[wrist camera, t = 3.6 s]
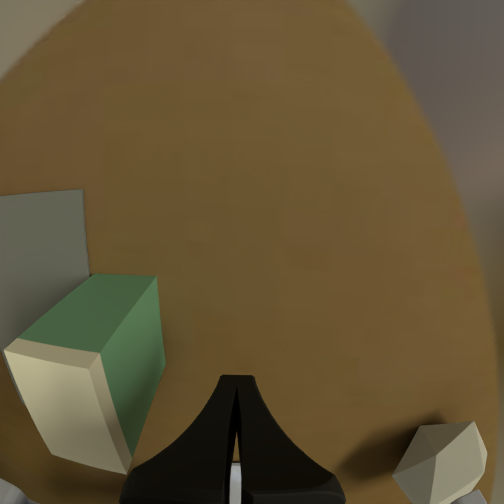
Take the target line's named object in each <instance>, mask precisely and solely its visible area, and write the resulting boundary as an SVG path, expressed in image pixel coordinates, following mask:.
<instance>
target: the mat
mask: <svg viewBox="0 0 504 504" xmlns="http://www.w3.org/2000/svg"><path fill="white" fill-rule="evenodd" d="M89 277H90V269H89V261H88V251H87V241H86V229H85V215H84V194H83V189H76V190H62V191H49V192H37V193H27V194H17V195H7V196H0V349H1V352H2V355H3V358H4V360H5V363H6V366H7V368H8V371H9V373H10V376H11V378H12V381H13V383H14V386H15V388H16V390H17V393H18V395H19V397H20V399H21V401H22V404H25V402H24V400H23V398H22V396H21V393H20V391H19V389H18V386H17V384H16V381H15V379H14V377H13V374H12V371H11V369H10V366H9V364H8V361H7V358H6V355H5V353H4V349H5V348H7V347H8V346H9V345H10V344H11V343H12V342H13V341H14V340H15V339H16V338H18V337H19V336H20V335H21V334H22V333H23V332H24V331H25V330H27V329H28V328H29V327H30V326H31V325H32V324H34V323H35V322H36V321H37V320H38V319H39V318H40V317H42V316H43V315H44V314H45V313H46V312H48V311H49V310H50V309H51V308H52V307H54V306H55V305H56V304H57V303H58V302H60V301H61V300H62V299H63V298H64V297H66V296H67V295H68V294H69V293H71V292H72V291H73V290H74V289H76V288H77V287H78V286H79V285H81V284H82V283H83V282H84V281H86V280H87V279H88V278H89ZM25 405H26V404H25Z"/></svg>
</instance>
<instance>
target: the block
mask: <svg viewBox="0 0 504 504" xmlns="http://www.w3.org/2000/svg"><path fill="white" fill-rule="evenodd" d="M4 353H5V355H6V358H7V361H8V364H9V366H10V369H11V371H12V374H13V377H14V379H15V381H16V384H17V386H18V389H19V391H20V393H21V396H22V398H23V400H24V402H25V404H26V406H27V409H28V411H29V413H30V415H31V417H32V419H33V421H34V423H35V425H36V427H37V429H38V431H39V432H40V434H41V436H42V438H43V440H44V442H45V443H46V445H47V447H48V449H49V450H50V452H51V454H53V455H56V456H59V457H62V458H65V459H68V460H71V461H74V462H78V463H81V464H85V465H88V466H92V467H96V468H100V469H104V470H108V471H112V472H117V473H121V474H126V475H127V473H128V470H129V467H130V464H131V461H132V458H133V455H134V452H135V449H136V446H137V443H138V440H139V437H140V434H141V431H142V429H143V426H144V423H145V420H146V417H147V414H148V411H149V409H150V406H151V403H152V400H153V397H154V395H155V392H156V389H157V386H158V384H159V381H160V378H161V376H162V373H163V370H164V367H165V365H166V363H165V355H164V347H163V339H162V330H161V321H160V311H159V300H158V288H157V276H139V275H116V274H96V273H95V274H93V275H92V276H91V277H89V278H88V279H87V280H86V281H84V282H83V283H82V284H81V285H79V286H78V287H77V288H76V289H74V290H73V291H72V292H71V293H69V294H68V295H67V296H66V297H64V298H63V299H62V300H61V301H60V302H58V303H57V304H56V305H55V306H54V307H52V308H51V309H50V310H49V311H48V312H46V313H45V314H44V315H43V316H42V317H40V318H39V319H38V320H37V321H36V322H35V323H34V324H32V325H31V326H30V327H29V328H28V329H27V330H25V331H24V332H23V333H22V334H21V335H20V336H19V337H18V338H16V339H15V340H14V341H13V342H12V343H11V344H10V345H9V346H8V347H7V348H5V349H4Z"/></svg>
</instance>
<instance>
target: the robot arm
mask: <svg viewBox="0 0 504 504" xmlns="http://www.w3.org/2000/svg"><path fill="white" fill-rule="evenodd" d="M236 432H237V437H238V448H239V458H240V463H232V460H233V453H234V446H235V439H236ZM345 502H346V499H345V495H344V492H343V490H342V488H341V486H340V483H339V482H338V480H337V478H336V476H335V475H334V474H332V473H331V472H329V471H327V470H326V469H324V468H323V467H321V466H320V465H318V464H317V463H316V462H315V461H313V460H312V459H311V458H309V457H308V456H307V455H306V454H305V453H304V452H303V451H302V450H301V449H299V448H298V447H297V446H296V445H295V444H294V443H293V442H292V441H291V440H290V438H289V437H288V436H287V435H286V434H285V433H284V431H283V430H282V429H281V428H280V426H279V425H278V424H277V422H276V421H275V419H274V418H273V416H272V415H271V413H270V411H269V410H268V408H267V406H266V404H265V403H264V401H263V399H262V397H261V395H260V392H259V390H258V387H257V385H256V381H255V377H253V376H252V375H222V376H220V379H219V382H218V384H217V386H216V388H215V390H214V392H213V394H212V396H211V397H210V399H209V400H208V402H207V404H206V405H205V407H204V408H203V410H202V411H201V412H200V414H199V415H198V416H197V418H196V419H195V420H194V421H193V423H192V424H191V425H190V426H189V427H188V428H187V429H186V430H185V431H184V432H183V433H182V434H181V435H180V436H179V437H178V438H177V439H176V440H175V441H174V442H173V443H172V444H170V445H169V446H168V447H167V448H165V449H164V450H163V451H161V452H160V453H159V454H157V455H156V456H154V457H153V458H151V459H150V460H148V461H146V462H144V463H143V464H141V465H139V466H137V467H136V468H134V469H132V471H131V473H130V474H129V476H128V478H127V480H126V482H125V484H124V486H123V489H122V493H121V496H120V500H119V503H120V504H345ZM0 504H38V503H36V502H34V501H32V500H30V499H27V497H26V495H25V494H24V493H23V492H22V491H21V490H20V489H19V488H18V487H16V486H14V485H13V484H11V483H9V482H7V481H5V480H3V479H1V478H0ZM450 504H487V503H486V501H485V499H484V497H483V496H482V494H481V492H480V490H479V489H477V490H475V491H472V492H470V493H468V494H466V495H464V496H461V497H459V498H457V499H456V500H454V501H453V502H451V503H450Z"/></svg>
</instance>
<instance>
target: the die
mask: <svg viewBox="0 0 504 504" xmlns="http://www.w3.org/2000/svg"><path fill="white" fill-rule="evenodd" d="M486 458H487V451H486V448H485V446H484V443H483V441H482V439H481V436H480V434H479V432H478V429H477V427H476V425H475V422H474V421H468V422H459V423H449V424H437V425H421V426H419V428H418V430H417V432H416V434H415V436H414V438H413V440H412V441H411V443H410V445H409V447H408V449H407V451H406V452H405V454H404V456H403V458H402V459H401V461H400V463H399V464H398V466H397V468H396V469H395V471H394V473H393V474H392V477H393V478H394V480H395V481H396V482H397V484H398V485H399V486H400V488H401V489H402V491H403V492H404V493H405V495H406V496H407V497H408V499H409V500H410V501H411V503H413V504H450V503H451V502H453V501H454V500H456V499H457V498H459V497H461V496H464V495H466V494H468V493H470V492H471V491H472V489H473V488H474V487H475V485H476V484H477V482H478V481H479V479H480V478H481V476H482V475H483V474H484V470H485V465H486Z"/></svg>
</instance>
